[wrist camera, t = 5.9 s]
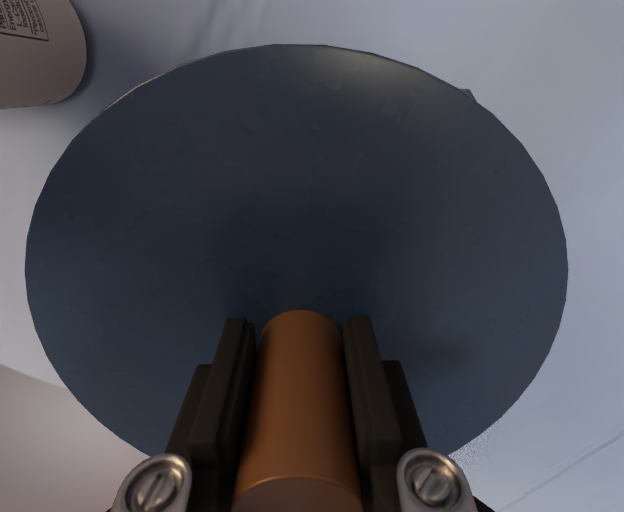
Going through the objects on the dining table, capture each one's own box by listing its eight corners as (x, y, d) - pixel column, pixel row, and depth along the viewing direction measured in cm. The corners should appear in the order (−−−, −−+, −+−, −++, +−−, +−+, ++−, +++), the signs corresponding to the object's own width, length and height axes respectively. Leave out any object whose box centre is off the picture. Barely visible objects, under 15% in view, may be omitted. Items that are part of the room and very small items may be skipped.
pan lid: (-47, 301, 12) (-358, 502, 6) (336, -147, 7) (442, -917, 2) (286, 507, 18) (278, 706, 12) (618, 335, 13) (853, 531, 7)
